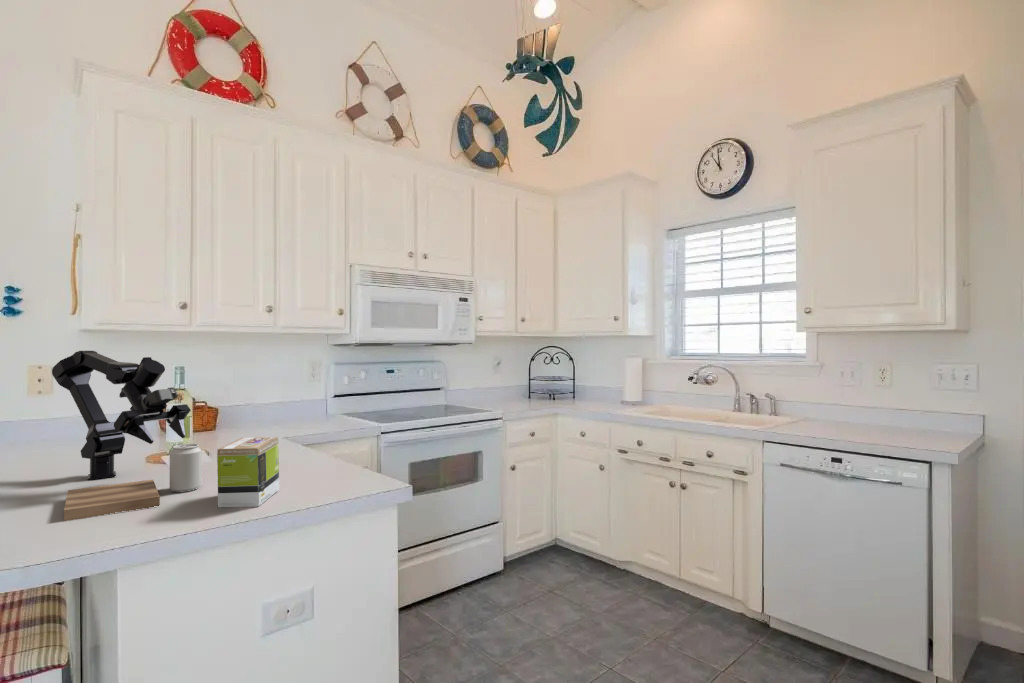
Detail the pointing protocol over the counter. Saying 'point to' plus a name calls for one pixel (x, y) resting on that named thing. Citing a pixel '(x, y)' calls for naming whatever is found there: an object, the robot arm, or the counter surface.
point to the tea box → (248, 471)
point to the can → (185, 467)
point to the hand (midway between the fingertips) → (168, 439)
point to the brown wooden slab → (110, 499)
